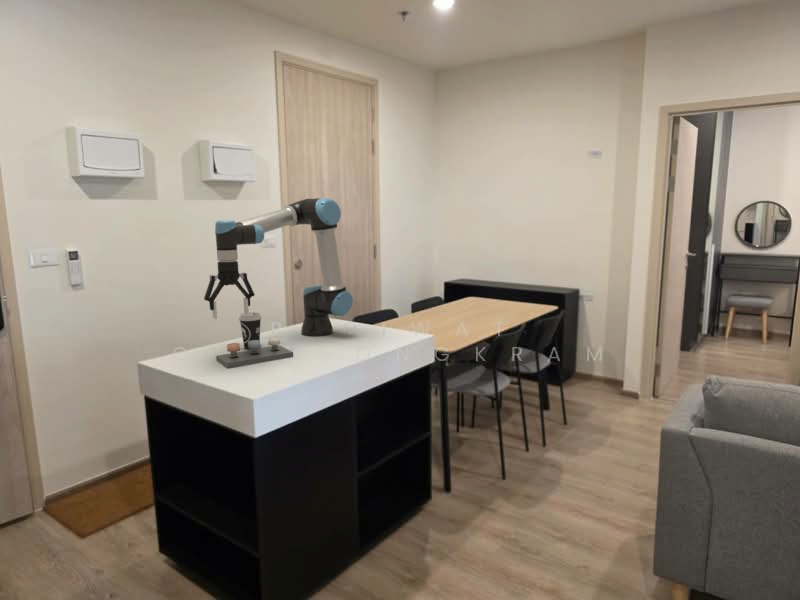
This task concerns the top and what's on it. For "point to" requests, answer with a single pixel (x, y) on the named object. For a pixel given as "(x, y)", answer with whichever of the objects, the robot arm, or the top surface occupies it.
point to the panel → (253, 356)
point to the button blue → (254, 345)
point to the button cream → (274, 342)
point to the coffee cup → (250, 327)
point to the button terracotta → (233, 348)
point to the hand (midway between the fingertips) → (231, 316)
